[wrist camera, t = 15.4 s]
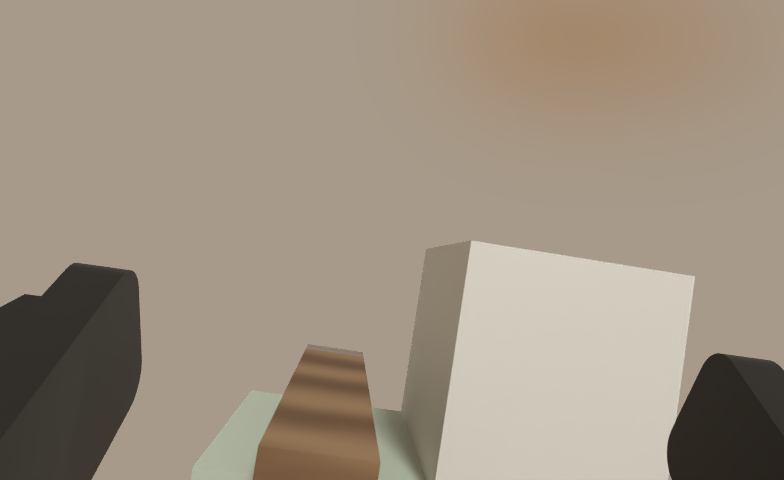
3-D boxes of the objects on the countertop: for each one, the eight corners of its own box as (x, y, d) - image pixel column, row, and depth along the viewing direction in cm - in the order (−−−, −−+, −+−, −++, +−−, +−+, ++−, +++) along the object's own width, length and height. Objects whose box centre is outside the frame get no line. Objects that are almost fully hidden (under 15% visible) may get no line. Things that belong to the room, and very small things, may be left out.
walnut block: (361, 587, 19) (380, 462, 19) (237, 571, 18) (258, 445, 19) (353, 407, 42) (362, 352, 42) (299, 399, 42) (308, 344, 42)
